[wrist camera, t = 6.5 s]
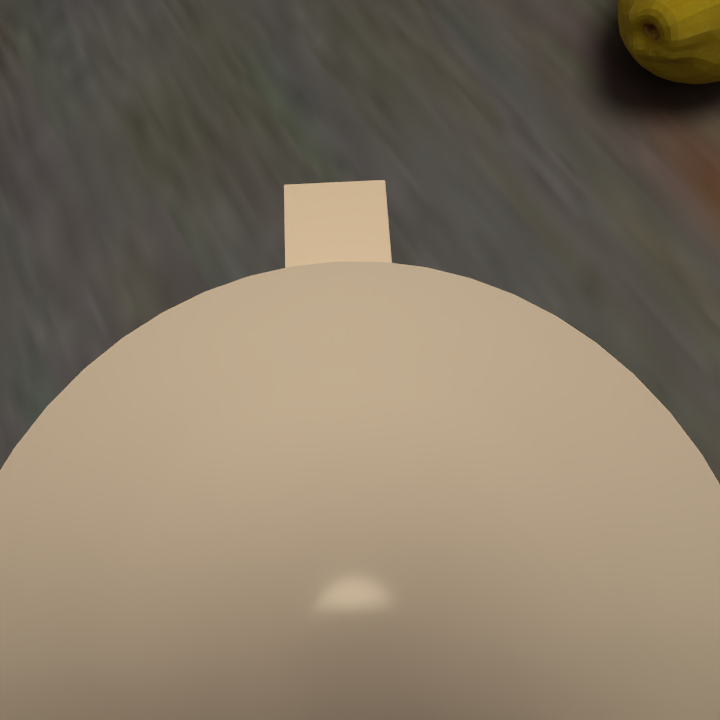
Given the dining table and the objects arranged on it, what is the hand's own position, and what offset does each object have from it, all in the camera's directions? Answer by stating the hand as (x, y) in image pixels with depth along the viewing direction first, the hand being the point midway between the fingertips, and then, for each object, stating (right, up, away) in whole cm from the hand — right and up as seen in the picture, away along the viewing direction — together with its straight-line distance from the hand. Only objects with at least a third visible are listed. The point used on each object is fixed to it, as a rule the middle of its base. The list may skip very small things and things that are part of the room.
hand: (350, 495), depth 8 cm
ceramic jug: (0, -3, +6) cm, 7 cm away
